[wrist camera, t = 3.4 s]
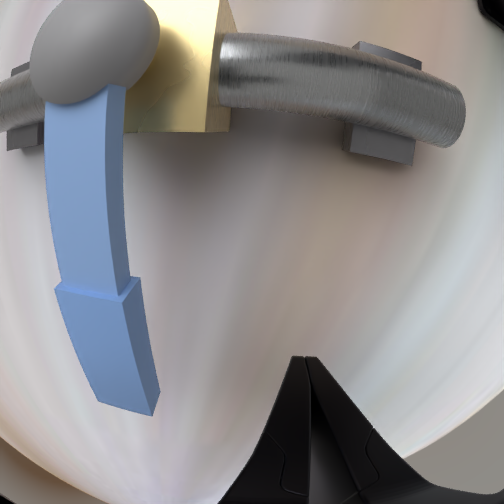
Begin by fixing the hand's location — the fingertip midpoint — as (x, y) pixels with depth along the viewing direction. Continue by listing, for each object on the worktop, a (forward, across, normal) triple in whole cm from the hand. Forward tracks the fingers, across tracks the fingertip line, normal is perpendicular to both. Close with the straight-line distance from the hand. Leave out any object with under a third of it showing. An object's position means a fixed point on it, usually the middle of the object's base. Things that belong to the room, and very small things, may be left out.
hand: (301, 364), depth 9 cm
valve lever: (0, +6, -4) cm, 7 cm away
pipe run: (+6, +6, -9) cm, 12 cm away
